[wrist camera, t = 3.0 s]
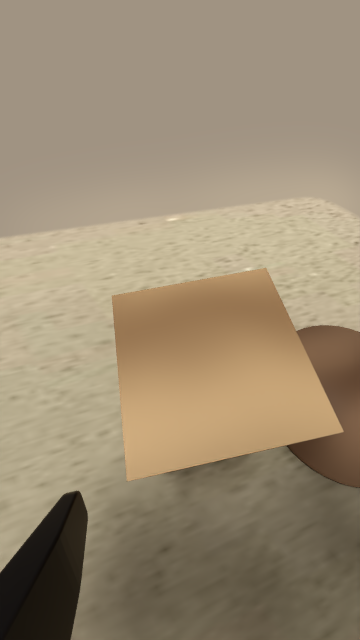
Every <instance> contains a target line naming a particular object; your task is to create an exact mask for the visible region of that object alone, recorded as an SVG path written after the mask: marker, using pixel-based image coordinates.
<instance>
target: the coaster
mask: <svg viewBox="0 0 360 640" xmlns="http://www.w3.org/2000/svg"><path fill="white" fill-rule="evenodd" d="M296 332H297V334H298V336H299V338H300V340H301V343H302V345H303V347H304V349H305V351H306V353H307V355H308V357H309V359H310V361H311V364H312V366H313V368H314V370H315V372H316V374H317V376H318V378H319V380H320V383H321V385H322V387H323V389H324V391H325V393H326V395H327V397H328V399H329V401H330V404H331V406H332V408H333V410H334V412H335V414H336V416H337V418H338V420H339V423H340V425H341V427H342V429H343V431H344V432H341V433H337V434H333V435H329V436H324V437H320V438H316V439H311V440H307V441H303V442H298V443H294V444H290V445H287V447H288V448H289V449H290V450H291V451H292V452H293V453H294V454H295V455H296V456H297V457H298V458H299V459H300V460H301V461H302V462H304V463H305V464H306V465H307V466H309V467H310V468H311V469H313V470H314V471H316V472H318V473H319V474H321V475H323V476H325V477H327V478H329V479H331V480H333V481H335V482H338V483H342V484H345V485H348V486H353V487H359V488H360V332H358V331H355V330H352V329H348V328H344V327H339V326H327V325H321V326H312V327H308V328H304V329H301V330H298V331H296Z"/></svg>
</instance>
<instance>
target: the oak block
mask: <svg viewBox="0 0 360 640" xmlns="http://www.w3.org/2000/svg"><path fill="white" fill-rule="evenodd" d="M112 303H113V315H114V328H115V340H116V352H117V365H118V377H119V389H120V401H121V414H122V426H123V438H124V450H125V463H126V475H127V481H132V480H136V479H141V478H145V477H150V476H154V475H159V474H163V473H168V472H172V471H176V470H181V469H185V468H190V467H194V466H198V465H203V464H207V463H211V462H216V461H220V460H225V459H229V458H233V457H238V456H242V455H246V454H251V453H255V452H259V451H264V450H268V449H272V448H277V447H281V446H285V445H290V444H294V443H298V442H303V441H307V440H311V439H316V438H320V437H324V436H329V435H333V434H337V433H341V432H344V431H343V429H342V427H341V425H340V423H339V420H338V418H337V416H336V414H335V412H334V410H333V408H332V406H331V404H330V401H329V399H328V397H327V395H326V393H325V391H324V389H323V387H322V385H321V383H320V380H319V378H318V376H317V374H316V372H315V370H314V368H313V366H312V364H311V361H310V359H309V357H308V355H307V353H306V351H305V349H304V347H303V345H302V343H301V340H300V338H299V336H298V334H297V332H296V330H295V328H294V326H293V324H292V322H291V319H290V317H289V315H288V313H287V311H286V309H285V307H284V305H283V303H282V300H281V298H280V296H279V294H278V292H277V290H276V288H275V286H274V284H273V282H272V279H271V277H270V275H269V273H268V271H267V269H266V268H263V269H258V270H252V271H246V272H241V273H235V274H230V275H224V276H219V277H213V278H208V279H202V280H197V281H191V282H185V283H180V284H174V285H169V286H163V287H158V288H152V289H147V290H141V291H136V292H130V293H124V294H119V295H113V296H112Z"/></svg>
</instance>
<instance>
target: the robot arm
mask: <svg viewBox="0 0 360 640" xmlns="http://www.w3.org/2000/svg"><path fill="white" fill-rule="evenodd" d="M87 522H88V514H87V510H86V507H85V504H84V501H83V498H82V495H81V493H80V492H79V491H73V492H69V493H66V494H64V495H63V496H62V497H61V498H60V499H59V501H58V502H57V503H56V504H55V506H54V507H53V508H52V509H51V511H50V512H49V513H48V514H47V516H46V517H45V518H44V519H43V520H42V522H41V523H40V524H39V525H38V527H37V528H36V529H35V530H34V532H33V533H32V534H31V535H30V537H29V538H28V539H27V540H26V542H25V543H24V544H23V545H22V546H21V548H20V549H19V550H18V551H17V553H16V554H15V555H14V556H13V558H12V559H11V560H10V561H9V563H8V564H7V565H6V566H5V568H4V569H3V570H2V571H1V572H0V640H70V639H71V634H72V629H73V624H74V619H75V614H76V609H77V603H78V598H79V592H80V586H81V578H82V569H83V559H84V550H85V541H86V531H87Z"/></svg>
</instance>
